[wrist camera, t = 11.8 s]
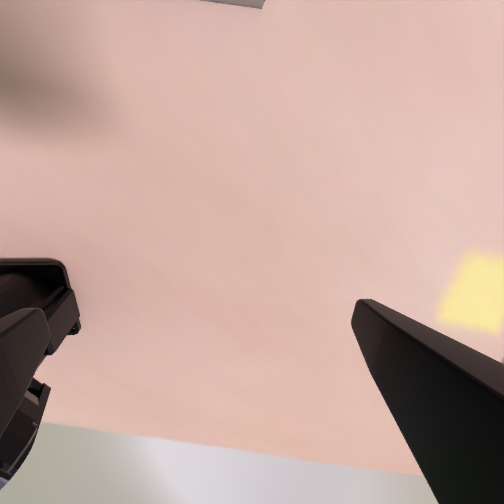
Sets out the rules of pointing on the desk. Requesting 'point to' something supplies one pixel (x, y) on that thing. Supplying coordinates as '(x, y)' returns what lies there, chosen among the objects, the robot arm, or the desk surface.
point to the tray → (241, 2)
